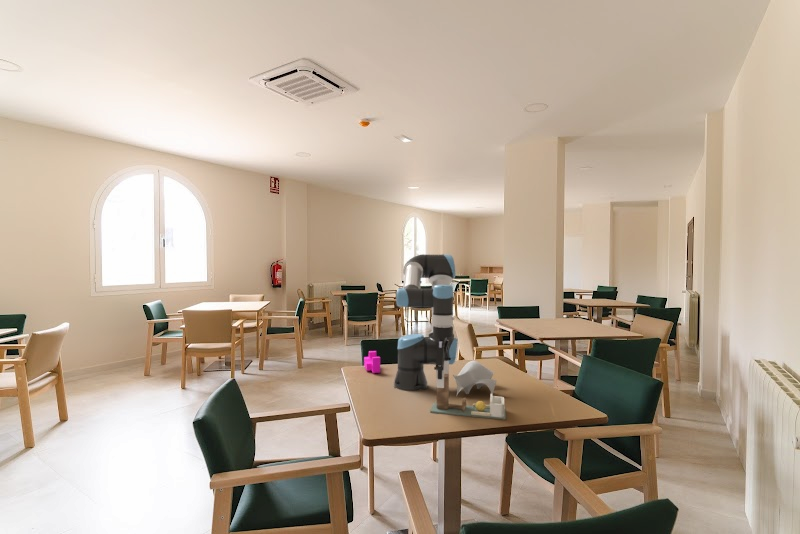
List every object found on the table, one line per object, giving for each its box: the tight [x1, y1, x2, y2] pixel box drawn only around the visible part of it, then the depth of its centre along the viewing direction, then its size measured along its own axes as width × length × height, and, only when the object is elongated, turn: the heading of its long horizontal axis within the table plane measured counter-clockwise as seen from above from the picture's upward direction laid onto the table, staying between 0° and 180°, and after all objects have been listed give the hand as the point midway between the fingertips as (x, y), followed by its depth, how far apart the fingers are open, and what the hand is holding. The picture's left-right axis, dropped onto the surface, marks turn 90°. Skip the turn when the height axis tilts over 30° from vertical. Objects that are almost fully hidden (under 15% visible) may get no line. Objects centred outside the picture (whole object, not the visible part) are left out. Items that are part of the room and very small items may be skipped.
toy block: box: [363, 350, 381, 374], centre depth 206 cm, size 15×6×8 cm, turn 12°
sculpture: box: [452, 360, 498, 397], centre depth 175 cm, size 25×19×10 cm
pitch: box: [429, 401, 507, 421], centre depth 148 cm, size 27×9×2 cm, turn 76°
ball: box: [475, 400, 486, 411], centre depth 147 cm, size 4×4×4 cm
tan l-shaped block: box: [436, 373, 467, 412], centre depth 149 cm, size 10×6×12 cm, turn 76°
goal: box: [489, 393, 505, 418], centre depth 145 cm, size 5×9×5 cm, turn 166°
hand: (442, 382), depth 150 cm, fingers open, 13 cm apart
